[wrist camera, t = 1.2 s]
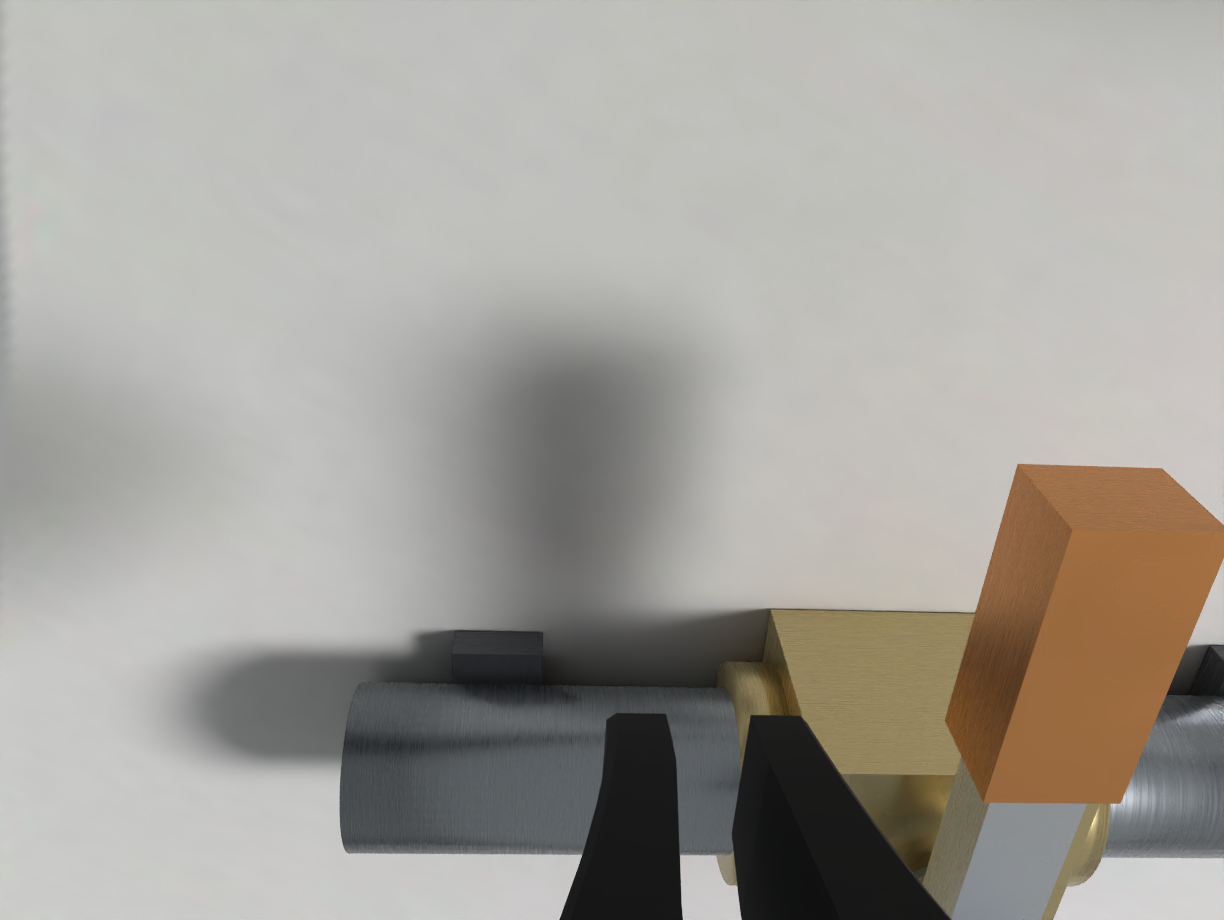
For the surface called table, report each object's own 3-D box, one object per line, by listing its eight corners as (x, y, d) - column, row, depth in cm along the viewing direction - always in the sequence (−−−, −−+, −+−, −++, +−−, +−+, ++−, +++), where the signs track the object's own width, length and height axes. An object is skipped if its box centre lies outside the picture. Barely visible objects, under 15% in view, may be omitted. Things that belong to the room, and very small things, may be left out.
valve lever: (986, 938, 20) (1029, 1044, 19) (862, 938, 20) (893, 1045, 18) (1160, 456, 15) (1248, 534, 13) (994, 450, 15) (1058, 529, 13)
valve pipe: (1278, 790, 27) (1429, 976, 22) (381, 781, 25) (339, 978, 21) (1371, 611, 24) (1567, 781, 19) (367, 590, 23) (314, 768, 18)
